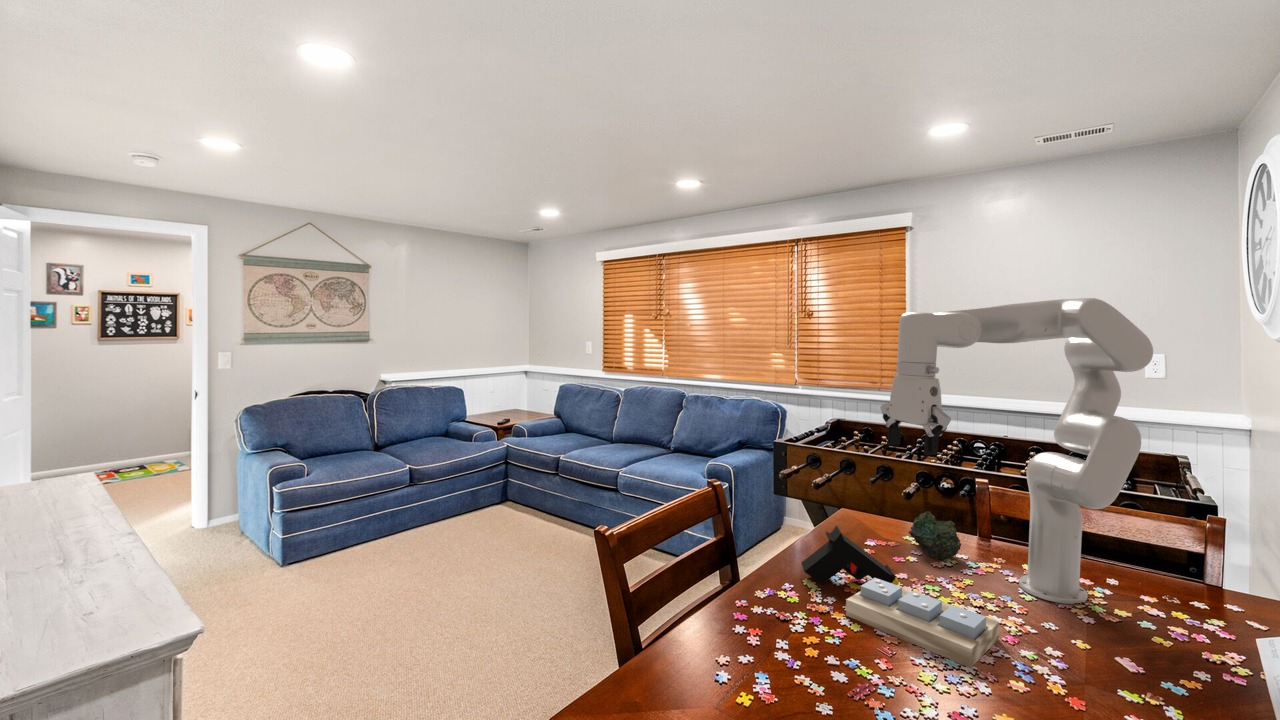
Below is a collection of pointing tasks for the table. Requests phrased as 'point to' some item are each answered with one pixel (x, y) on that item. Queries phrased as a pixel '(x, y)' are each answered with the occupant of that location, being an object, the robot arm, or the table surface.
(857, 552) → the toy gun
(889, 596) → the tile three
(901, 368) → the robot arm
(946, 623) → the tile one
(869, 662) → the table surface
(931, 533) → the rock
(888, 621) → the board
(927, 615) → the tile two
